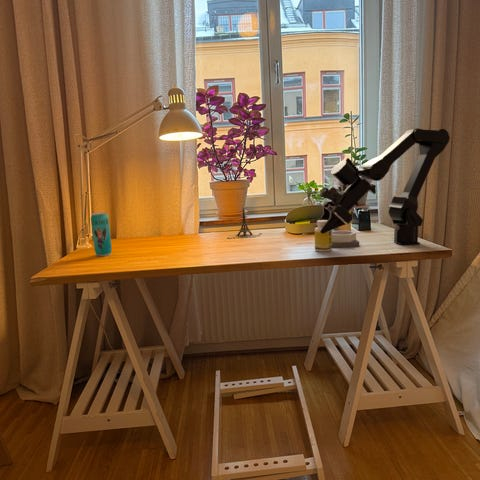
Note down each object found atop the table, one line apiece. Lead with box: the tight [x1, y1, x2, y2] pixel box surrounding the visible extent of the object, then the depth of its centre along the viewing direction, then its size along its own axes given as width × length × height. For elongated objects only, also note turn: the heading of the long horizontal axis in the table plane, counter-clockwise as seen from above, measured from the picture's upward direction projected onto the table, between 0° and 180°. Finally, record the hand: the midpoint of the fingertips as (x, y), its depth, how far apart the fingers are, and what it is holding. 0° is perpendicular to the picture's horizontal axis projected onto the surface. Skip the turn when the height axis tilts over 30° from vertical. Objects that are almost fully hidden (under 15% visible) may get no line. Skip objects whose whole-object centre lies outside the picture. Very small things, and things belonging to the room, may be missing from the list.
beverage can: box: [90, 211, 113, 257], centre depth 139 cm, size 6×6×15 cm
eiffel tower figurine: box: [226, 206, 263, 240], centre depth 163 cm, size 15×10×13 cm
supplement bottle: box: [314, 219, 333, 253], centre depth 128 cm, size 5×5×10 cm
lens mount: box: [332, 230, 360, 248], centre depth 137 cm, size 10×10×4 cm
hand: (318, 230), depth 128 cm, fingers open, 8 cm apart
